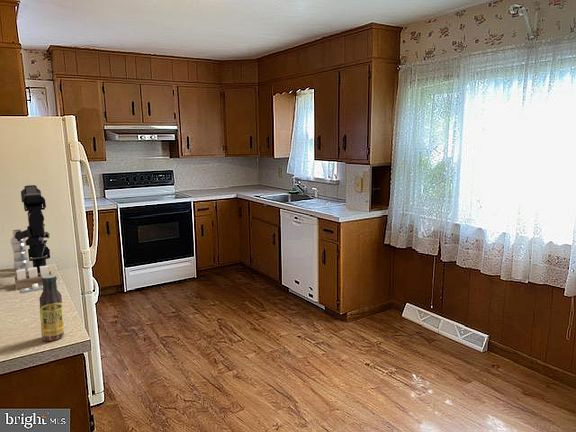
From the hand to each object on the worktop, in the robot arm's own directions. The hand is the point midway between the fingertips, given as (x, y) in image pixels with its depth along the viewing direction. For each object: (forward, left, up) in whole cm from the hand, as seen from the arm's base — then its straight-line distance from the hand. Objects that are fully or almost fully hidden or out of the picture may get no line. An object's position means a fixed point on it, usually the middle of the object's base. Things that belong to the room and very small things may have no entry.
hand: (40, 257), depth 192 cm
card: (+11, -1, -11) cm, 16 cm away
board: (+3, -3, -11) cm, 12 cm away
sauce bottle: (+69, +14, -11) cm, 71 cm away
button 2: (+2, +1, -9) cm, 9 cm away
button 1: (+4, -7, -9) cm, 12 cm away
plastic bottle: (-28, -14, -11) cm, 33 cm away
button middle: (+3, -3, -9) cm, 10 cm away
